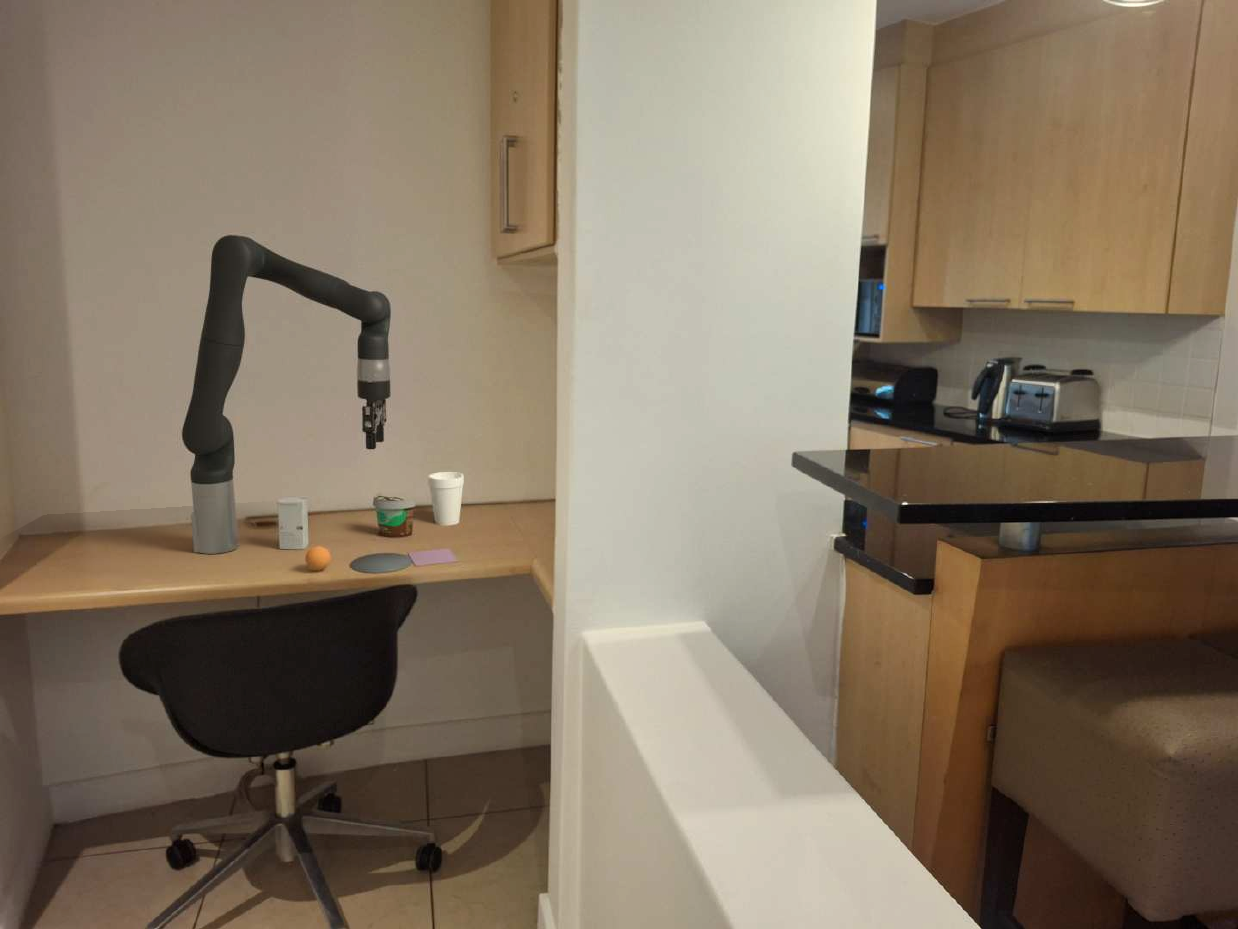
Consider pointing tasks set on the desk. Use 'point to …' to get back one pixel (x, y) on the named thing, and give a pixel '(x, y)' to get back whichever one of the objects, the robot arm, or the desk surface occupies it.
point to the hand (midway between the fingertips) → (375, 445)
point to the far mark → (432, 557)
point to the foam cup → (446, 496)
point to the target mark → (381, 563)
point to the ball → (318, 558)
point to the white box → (293, 523)
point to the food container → (394, 516)
